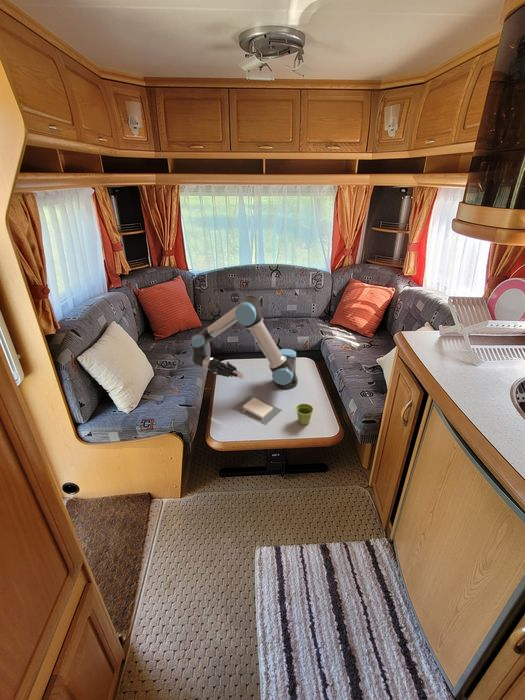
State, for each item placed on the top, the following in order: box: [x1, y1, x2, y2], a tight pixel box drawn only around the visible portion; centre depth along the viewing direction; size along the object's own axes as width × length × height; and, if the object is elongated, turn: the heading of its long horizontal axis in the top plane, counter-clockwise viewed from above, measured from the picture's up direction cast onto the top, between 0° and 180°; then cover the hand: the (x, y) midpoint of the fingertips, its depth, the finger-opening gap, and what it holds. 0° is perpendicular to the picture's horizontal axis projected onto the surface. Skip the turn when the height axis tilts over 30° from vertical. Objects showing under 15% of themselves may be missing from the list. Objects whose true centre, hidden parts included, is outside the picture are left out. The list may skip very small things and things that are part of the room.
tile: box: [243, 397, 273, 419], centre depth 196 cm, size 2×10×14 cm
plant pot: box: [295, 403, 314, 426], centre depth 187 cm, size 9×9×9 cm
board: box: [231, 394, 283, 426], centre depth 197 cm, size 24×16×2 cm, turn 53°
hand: (242, 376), depth 193 cm, fingers closed
